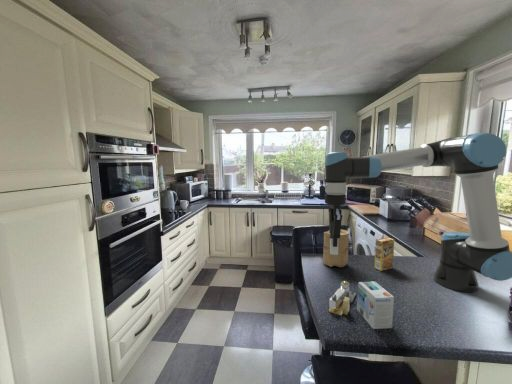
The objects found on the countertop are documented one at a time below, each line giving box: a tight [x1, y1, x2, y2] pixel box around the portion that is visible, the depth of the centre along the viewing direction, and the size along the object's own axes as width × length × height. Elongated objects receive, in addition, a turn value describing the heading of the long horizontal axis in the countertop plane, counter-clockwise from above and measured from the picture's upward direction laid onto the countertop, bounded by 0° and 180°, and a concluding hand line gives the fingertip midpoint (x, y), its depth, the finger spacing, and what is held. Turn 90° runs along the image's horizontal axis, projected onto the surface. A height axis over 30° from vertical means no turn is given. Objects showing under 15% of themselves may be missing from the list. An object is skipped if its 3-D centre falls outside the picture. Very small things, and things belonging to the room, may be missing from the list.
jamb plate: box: [336, 287, 357, 304], centre depth 92 cm, size 7×7×1 cm
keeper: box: [328, 297, 351, 317], centre depth 85 cm, size 6×10×5 cm, turn 145°
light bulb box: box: [356, 280, 395, 330], centre depth 78 cm, size 11×7×11 cm, turn 5°
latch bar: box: [328, 280, 350, 310], centre depth 88 cm, size 15×3×5 cm, turn 140°
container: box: [322, 228, 350, 268], centre depth 122 cm, size 13×13×18 cm
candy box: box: [374, 237, 395, 272], centre depth 118 cm, size 9×4×15 cm, turn 113°
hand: (334, 253), depth 89 cm, fingers closed
